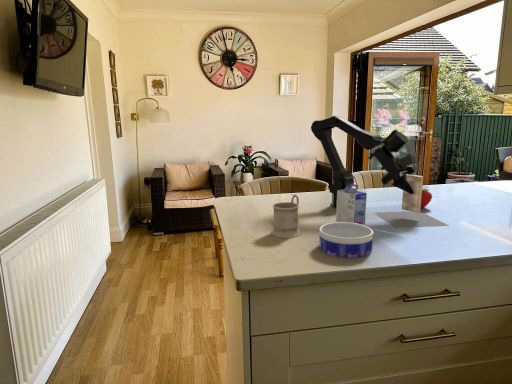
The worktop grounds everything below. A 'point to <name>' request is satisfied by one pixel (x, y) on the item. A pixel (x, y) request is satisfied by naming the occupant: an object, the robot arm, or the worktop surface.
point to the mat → (409, 219)
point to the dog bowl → (345, 239)
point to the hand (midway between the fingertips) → (414, 193)
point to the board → (413, 200)
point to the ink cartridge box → (351, 205)
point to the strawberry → (425, 197)
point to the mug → (286, 219)
